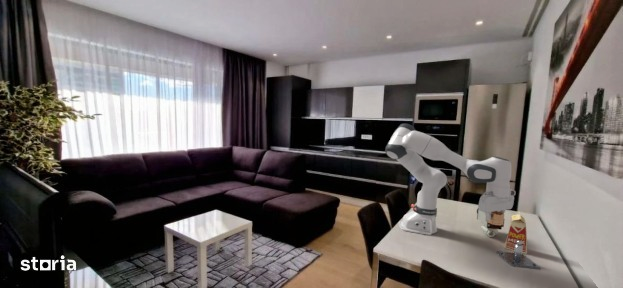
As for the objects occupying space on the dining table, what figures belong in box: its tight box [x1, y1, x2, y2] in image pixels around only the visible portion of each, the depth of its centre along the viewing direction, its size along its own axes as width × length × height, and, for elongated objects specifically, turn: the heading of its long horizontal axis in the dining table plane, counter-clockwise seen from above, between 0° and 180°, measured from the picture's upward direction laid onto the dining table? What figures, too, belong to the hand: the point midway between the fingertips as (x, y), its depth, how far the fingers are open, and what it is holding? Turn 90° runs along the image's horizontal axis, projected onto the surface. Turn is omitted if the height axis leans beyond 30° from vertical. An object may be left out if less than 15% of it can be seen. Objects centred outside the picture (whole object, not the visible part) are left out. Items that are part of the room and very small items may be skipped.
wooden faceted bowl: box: [485, 211, 505, 225], centre depth 119 cm, size 7×7×5 cm
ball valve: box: [476, 208, 505, 238], centre depth 150 cm, size 18×8×18 cm, turn 168°
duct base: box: [496, 240, 541, 270], centre depth 122 cm, size 12×12×10 cm
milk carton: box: [503, 211, 528, 255], centre depth 133 cm, size 9×9×20 cm
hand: (494, 219), depth 120 cm, fingers closed on wooden faceted bowl, 7 cm apart
